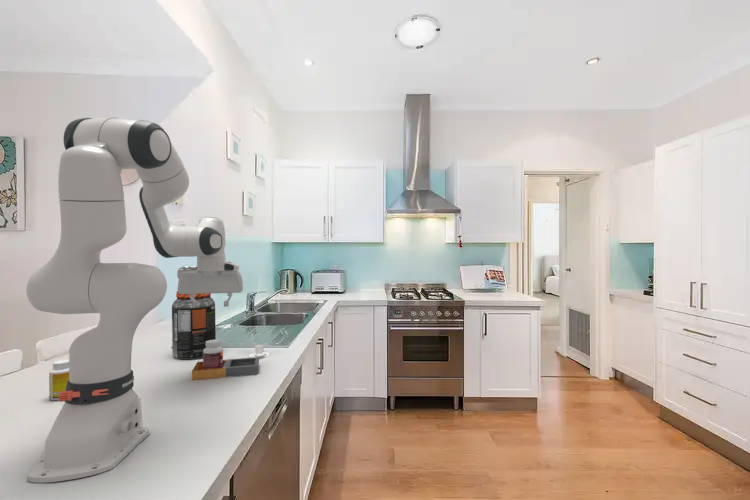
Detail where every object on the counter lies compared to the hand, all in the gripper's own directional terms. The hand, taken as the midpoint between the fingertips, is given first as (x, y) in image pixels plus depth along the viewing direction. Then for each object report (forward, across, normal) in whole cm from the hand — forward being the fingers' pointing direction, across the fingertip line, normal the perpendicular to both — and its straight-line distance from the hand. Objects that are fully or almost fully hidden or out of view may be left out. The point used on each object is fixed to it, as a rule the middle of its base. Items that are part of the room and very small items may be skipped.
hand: (211, 306), depth 127 cm
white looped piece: (+23, +12, +18) cm, 32 cm away
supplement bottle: (+23, -38, -10) cm, 45 cm away
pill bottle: (+23, 0, 0) cm, 23 cm away
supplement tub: (+23, -10, +27) cm, 37 cm away
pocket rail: (+23, +5, 0) cm, 23 cm away
